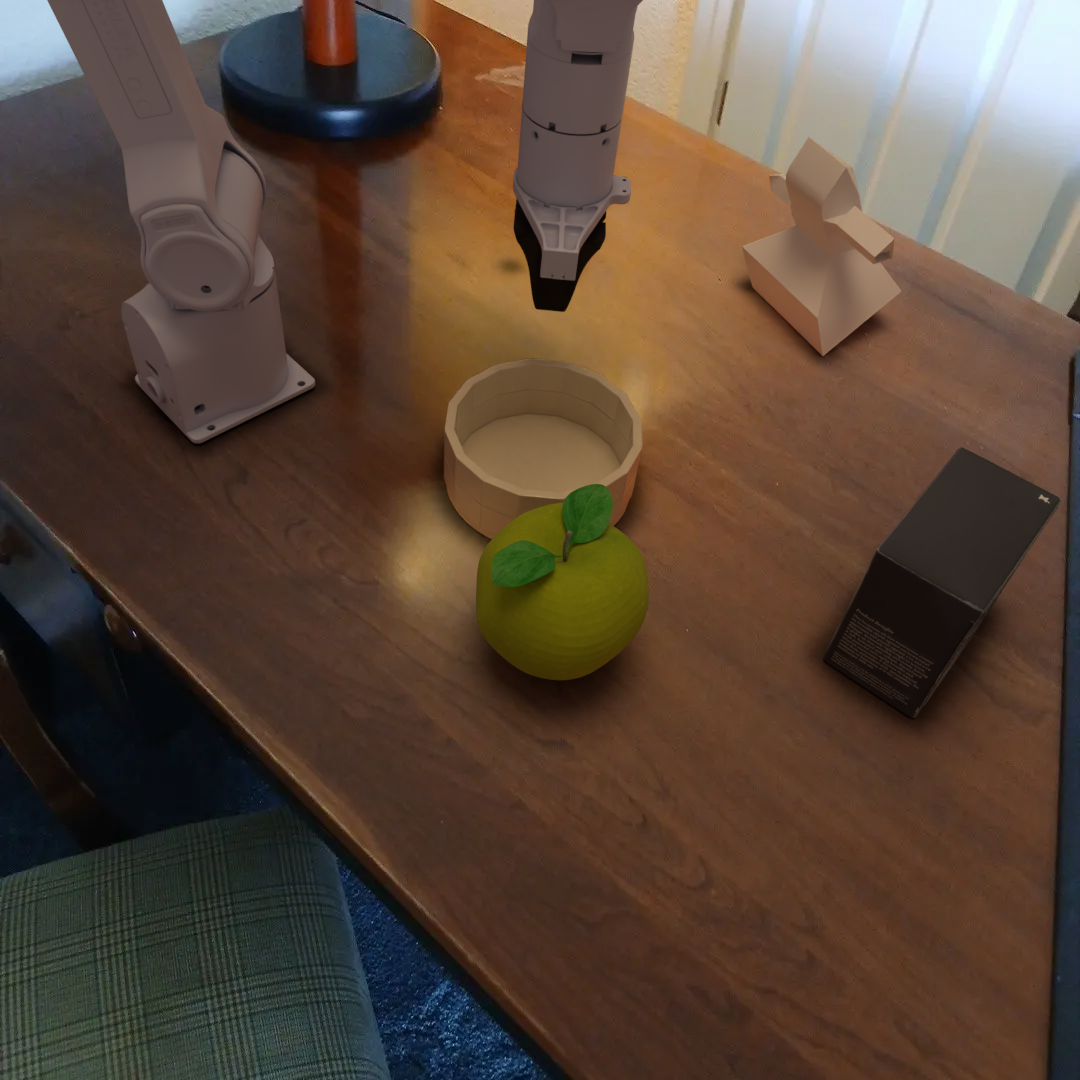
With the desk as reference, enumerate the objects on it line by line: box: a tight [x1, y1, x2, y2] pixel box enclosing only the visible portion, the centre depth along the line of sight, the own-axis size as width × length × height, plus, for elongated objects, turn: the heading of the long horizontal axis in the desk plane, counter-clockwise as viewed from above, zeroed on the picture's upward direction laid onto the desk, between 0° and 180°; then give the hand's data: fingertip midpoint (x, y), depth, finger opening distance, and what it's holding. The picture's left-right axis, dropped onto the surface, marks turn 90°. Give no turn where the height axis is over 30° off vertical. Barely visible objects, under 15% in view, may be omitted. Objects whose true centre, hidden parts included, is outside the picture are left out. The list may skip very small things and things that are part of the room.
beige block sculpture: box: [741, 136, 902, 357], centre depth 78 cm, size 8×14×14 cm, turn 29°
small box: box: [822, 446, 1062, 719], centre depth 59 cm, size 11×6×10 cm, turn 141°
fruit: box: [475, 484, 650, 681], centre depth 57 cm, size 9×9×10 cm
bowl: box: [443, 358, 643, 540], centre depth 67 cm, size 12×12×5 cm
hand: (550, 304), depth 70 cm, fingers closed
